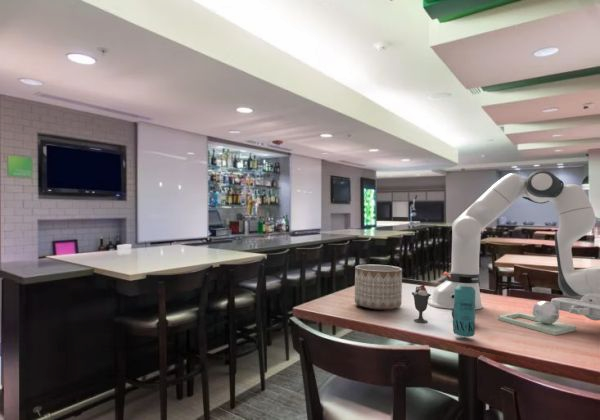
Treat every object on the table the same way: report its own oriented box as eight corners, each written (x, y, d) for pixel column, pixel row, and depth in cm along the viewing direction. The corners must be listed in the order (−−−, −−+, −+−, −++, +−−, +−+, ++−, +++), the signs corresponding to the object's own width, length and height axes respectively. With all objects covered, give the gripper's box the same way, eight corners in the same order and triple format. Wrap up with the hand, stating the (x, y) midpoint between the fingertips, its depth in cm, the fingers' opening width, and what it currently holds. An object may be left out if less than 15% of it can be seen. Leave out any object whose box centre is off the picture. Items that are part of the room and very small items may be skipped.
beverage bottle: (448, 335, 121) (449, 273, 121) (468, 335, 121) (469, 273, 121) (459, 342, 114) (460, 277, 114) (479, 341, 115) (480, 277, 115)
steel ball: (539, 326, 128) (539, 303, 128) (528, 319, 136) (528, 298, 136) (564, 327, 127) (564, 304, 127) (551, 321, 135) (551, 299, 135)
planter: (355, 299, 168) (356, 263, 168) (399, 302, 164) (400, 265, 164) (353, 310, 149) (353, 269, 149) (402, 314, 145) (403, 272, 145)
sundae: (428, 325, 131) (428, 282, 131) (409, 321, 135) (409, 280, 135) (432, 320, 137) (433, 280, 137) (413, 317, 140) (414, 278, 140)
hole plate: (576, 330, 129) (576, 326, 129) (554, 335, 123) (554, 331, 123) (519, 315, 146) (519, 312, 146) (498, 319, 140) (498, 316, 140)
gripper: (562, 292, 139) (541, 295, 132) (631, 303, 120) (610, 308, 114) (562, 309, 138) (541, 313, 132) (631, 323, 120) (610, 329, 114)
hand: (574, 311), depth 123 cm, fingers closed
